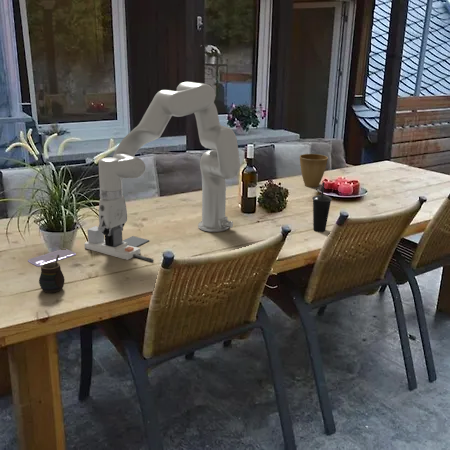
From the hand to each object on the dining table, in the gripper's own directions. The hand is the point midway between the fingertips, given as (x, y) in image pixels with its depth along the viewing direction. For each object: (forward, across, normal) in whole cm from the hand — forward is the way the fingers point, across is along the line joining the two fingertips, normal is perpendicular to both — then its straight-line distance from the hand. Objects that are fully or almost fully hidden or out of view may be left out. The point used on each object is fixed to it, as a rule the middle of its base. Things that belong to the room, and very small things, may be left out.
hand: (113, 242), depth 184 cm
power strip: (+3, 0, -3) cm, 5 cm away
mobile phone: (+4, -16, +14) cm, 22 cm away
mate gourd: (+4, -33, -5) cm, 34 cm away
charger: (+1, 0, 0) cm, 1 cm away
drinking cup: (+4, +63, -54) cm, 83 cm away
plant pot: (+4, +129, -25) cm, 131 cm away
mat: (+3, +11, 0) cm, 11 cm away
